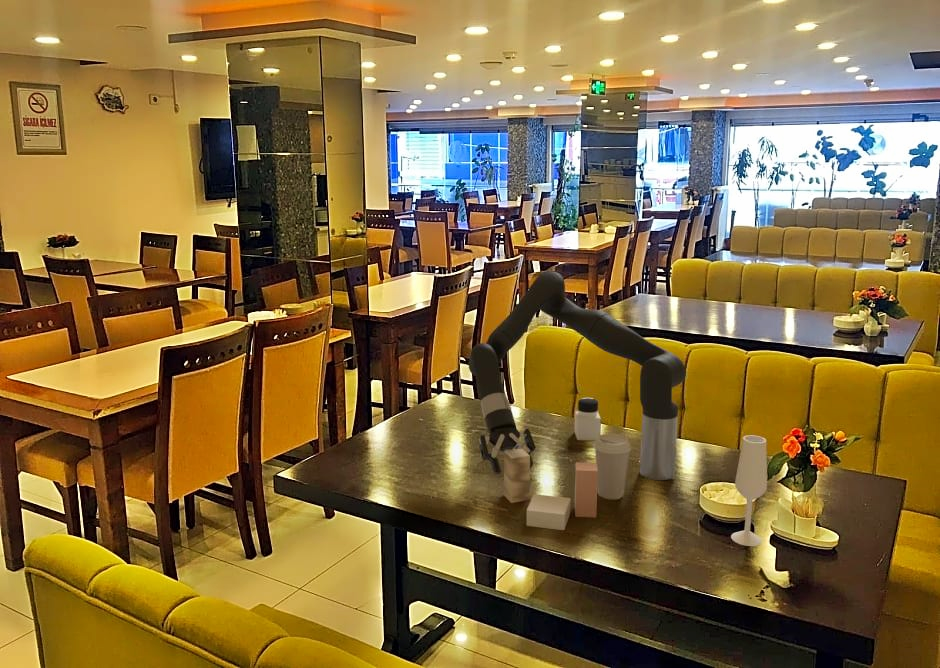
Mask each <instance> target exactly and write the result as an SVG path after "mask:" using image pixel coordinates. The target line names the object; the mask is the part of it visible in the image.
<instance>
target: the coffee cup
mask: <svg viewBox="0 0 940 668" xmlns="http://www.w3.org/2000/svg"><path fill="white" fill-rule="evenodd" d="M593 448H594V451H595V463H597V470H598V479H597V496H599V497H600V496H601V497H600V498H602V497H603V498H602V499H606V500H619V499H621V497H622V498H623V497H624V495H625V494H624V493H625V486H626V479H627V472H628V464H629V457H630V451H632V444H631V442H630V441H629V438H628V437H627V436H625V435H622V434H618V433H603V434H600V436H598V437H597V439H596V440H594V443H593Z"/></svg>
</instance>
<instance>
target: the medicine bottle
mask: <svg viewBox="0 0 940 668" xmlns="http://www.w3.org/2000/svg"><path fill="white" fill-rule="evenodd" d="M577 407H578V408H577V410H575V411H574V430H573V431H574V435H575V438H576V440H577V441H596V439H597V437H598V436H600V435H602V434H601V427H602V425H601V424H602V418H601V415H600V414H599V401H598V400H597V399H596V398H593V397H583V398H580V399H579V400H578V402H577Z"/></svg>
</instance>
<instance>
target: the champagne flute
mask: <svg viewBox="0 0 940 668" xmlns="http://www.w3.org/2000/svg"><path fill="white" fill-rule="evenodd" d="M740 448H741V449H740V453H739V460H738V465H737V470H736V474H735V475H736V476H735V481H734V485H735V486H734V487H735V488H736V490H737V492H738V493H739V494H741V496H742V497H743V498H744V499H746V506H745V507H746V508H745V509H746V510H745V519H744V520H745V521H744V530H740V531H736V532H733V533H732V534H731V535H730V538H731V539H732V541H733V542H735V544H739V545H741V546H746V547H757V546H760V545H761V544H762V543H763V539H762V537H760V536H759V535H758V534H755V533H754V532H752V531H751V525H752V524H751V522H752V510H753V501H754V500H756V499H758V498H760V497H762V496H763V495H764V494H765V492H766V491H767V490H768V472H767V471H768V470H767V465H768V464H767V461H768V460H767V439H766V438H764V437H762V436H759V435H753V434H751V435H750V434H749V435H744V436H743V437H742V443H741V447H740Z"/></svg>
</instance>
